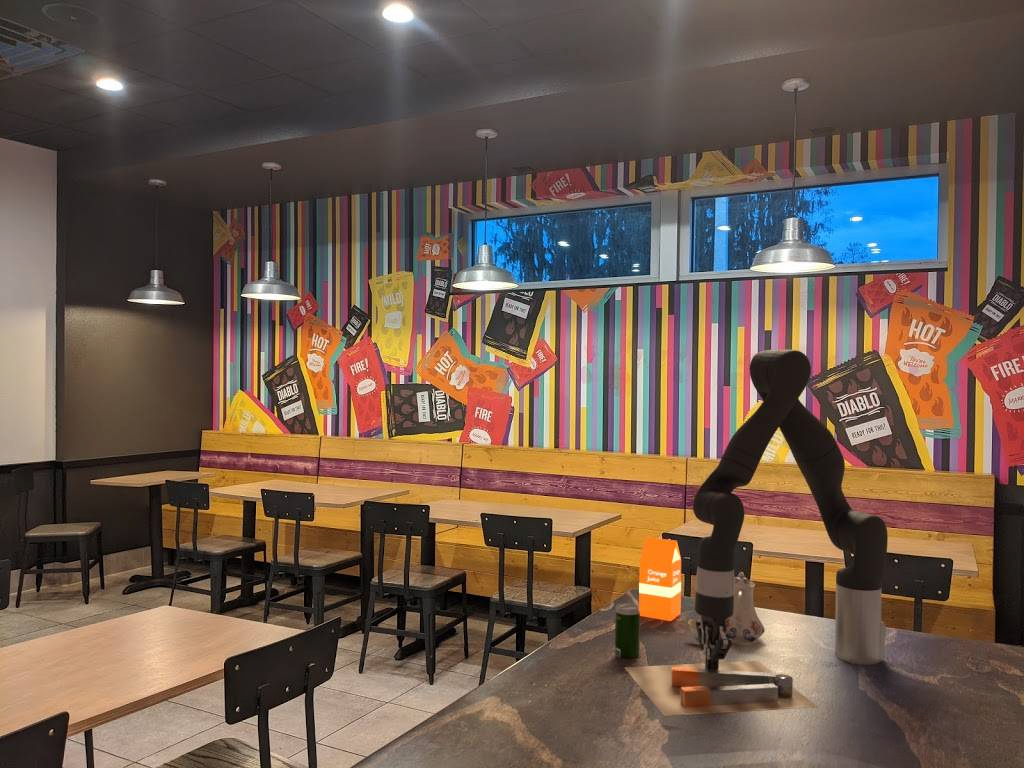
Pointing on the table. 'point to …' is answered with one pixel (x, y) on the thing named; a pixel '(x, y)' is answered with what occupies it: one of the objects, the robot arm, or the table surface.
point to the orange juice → (660, 579)
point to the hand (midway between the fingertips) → (711, 676)
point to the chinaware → (740, 616)
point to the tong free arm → (730, 679)
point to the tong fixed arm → (728, 695)
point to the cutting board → (669, 704)
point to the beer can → (627, 631)
